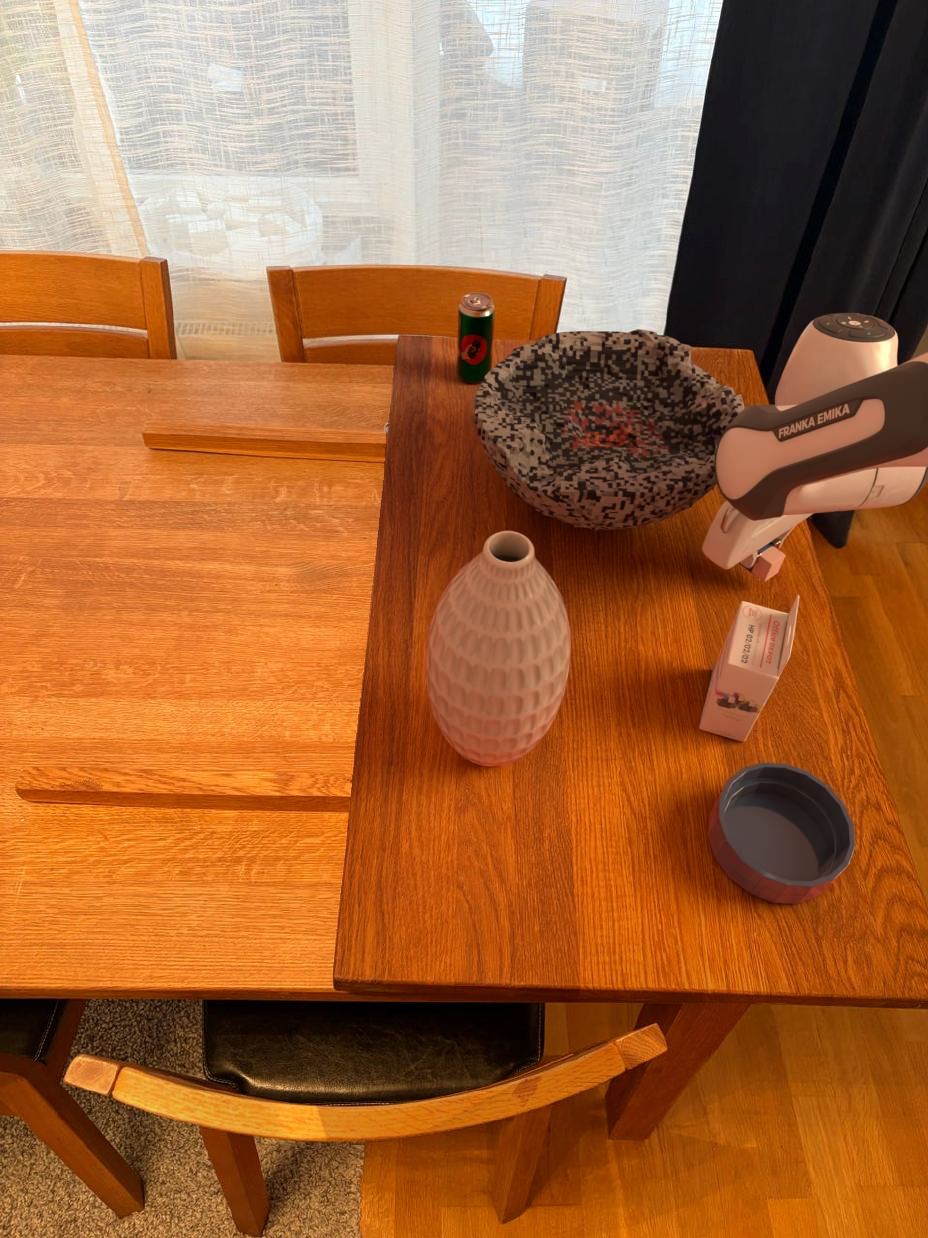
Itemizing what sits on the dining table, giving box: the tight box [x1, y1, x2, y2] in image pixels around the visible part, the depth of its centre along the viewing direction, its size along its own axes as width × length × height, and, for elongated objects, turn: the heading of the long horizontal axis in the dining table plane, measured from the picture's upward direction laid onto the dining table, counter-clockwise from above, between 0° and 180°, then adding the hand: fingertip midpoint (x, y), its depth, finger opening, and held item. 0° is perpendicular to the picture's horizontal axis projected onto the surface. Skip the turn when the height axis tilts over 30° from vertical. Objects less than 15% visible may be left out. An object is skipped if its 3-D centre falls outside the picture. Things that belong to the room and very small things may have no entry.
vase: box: [425, 530, 572, 768], centre depth 76 cm, size 13×13×28 cm
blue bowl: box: [707, 762, 856, 905], centre depth 79 cm, size 12×12×4 cm
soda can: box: [456, 291, 496, 385], centre depth 121 cm, size 5×5×12 cm
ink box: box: [698, 594, 800, 743], centre depth 84 cm, size 8×5×15 cm, turn 160°
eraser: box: [738, 543, 787, 583], centre depth 99 cm, size 5×3×3 cm, turn 38°
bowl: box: [473, 328, 746, 532], centre depth 105 cm, size 31×31×15 cm
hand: (758, 555), depth 99 cm, fingers closed on eraser, 2 cm apart
